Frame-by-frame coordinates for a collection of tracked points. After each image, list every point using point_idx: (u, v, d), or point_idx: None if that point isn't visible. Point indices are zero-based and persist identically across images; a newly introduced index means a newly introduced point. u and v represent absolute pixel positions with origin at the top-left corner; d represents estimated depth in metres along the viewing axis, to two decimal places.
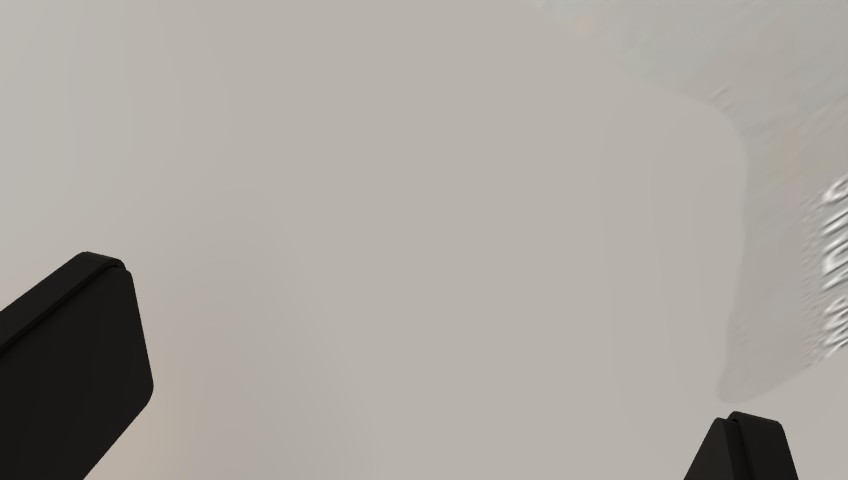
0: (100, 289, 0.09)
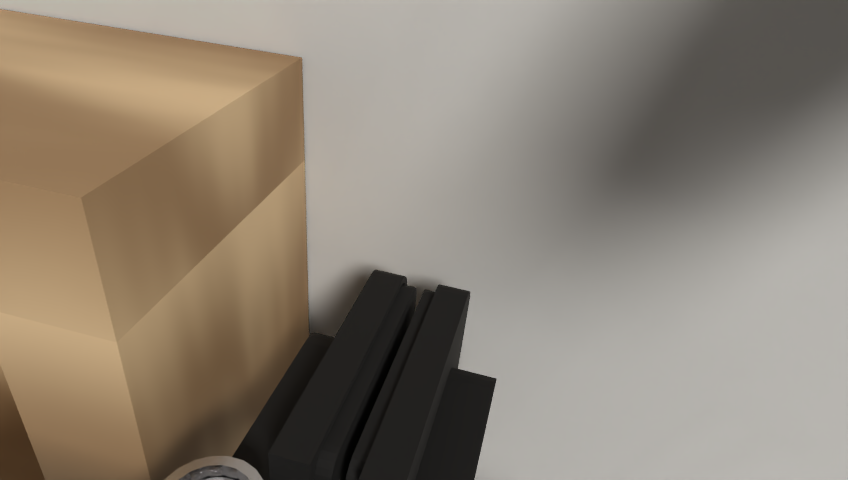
0: (404, 307, 0.10)
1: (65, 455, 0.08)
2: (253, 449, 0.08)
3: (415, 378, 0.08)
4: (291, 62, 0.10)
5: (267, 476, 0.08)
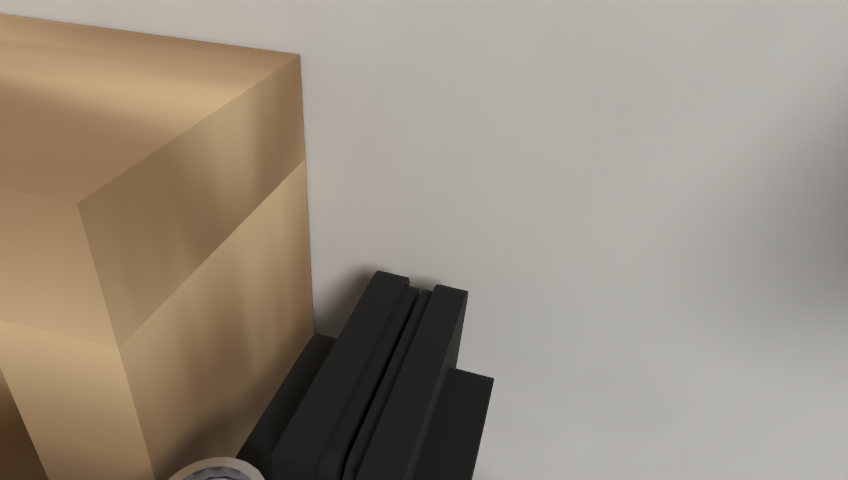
0: (406, 308, 0.10)
1: (71, 462, 0.08)
2: (256, 450, 0.08)
3: (412, 378, 0.08)
4: (290, 59, 0.10)
5: (270, 477, 0.08)
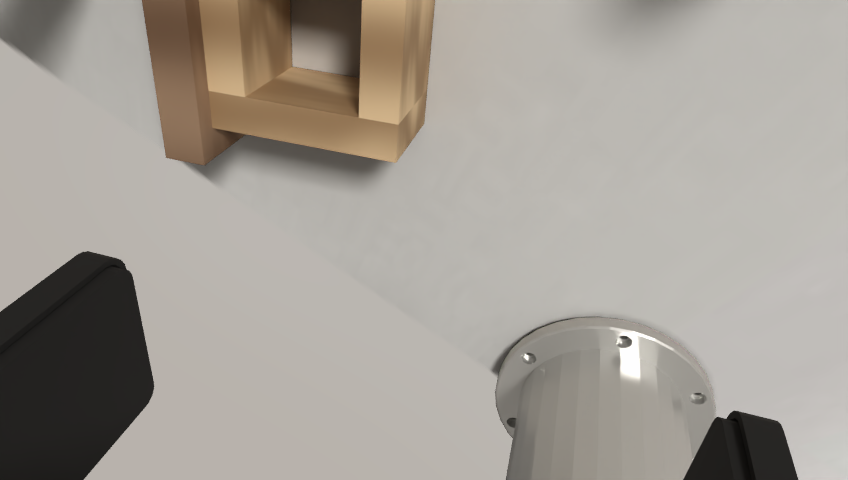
0: (101, 289, 0.09)
1: (372, 50, 0.25)
2: None
3: None
4: None
5: None
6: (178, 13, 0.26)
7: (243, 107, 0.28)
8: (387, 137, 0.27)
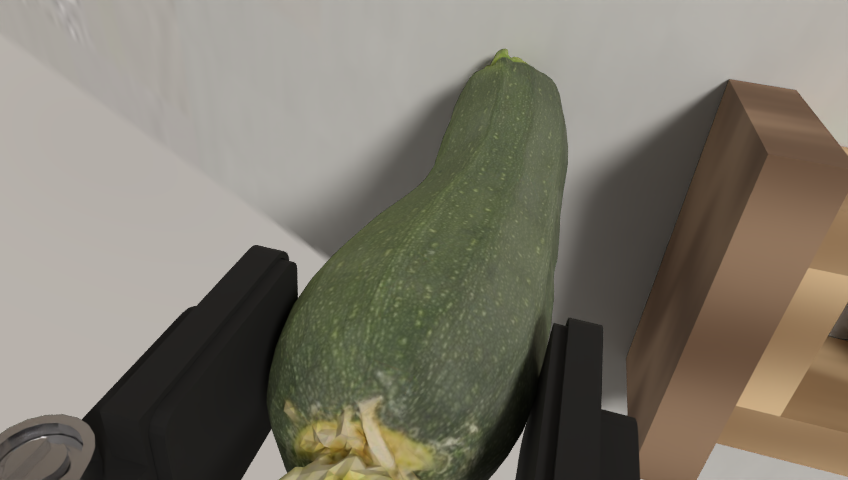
0: (277, 280, 0.10)
1: None
2: None
3: (575, 424, 0.08)
4: None
5: None
6: (757, 335, 0.17)
7: (770, 426, 0.20)
8: None
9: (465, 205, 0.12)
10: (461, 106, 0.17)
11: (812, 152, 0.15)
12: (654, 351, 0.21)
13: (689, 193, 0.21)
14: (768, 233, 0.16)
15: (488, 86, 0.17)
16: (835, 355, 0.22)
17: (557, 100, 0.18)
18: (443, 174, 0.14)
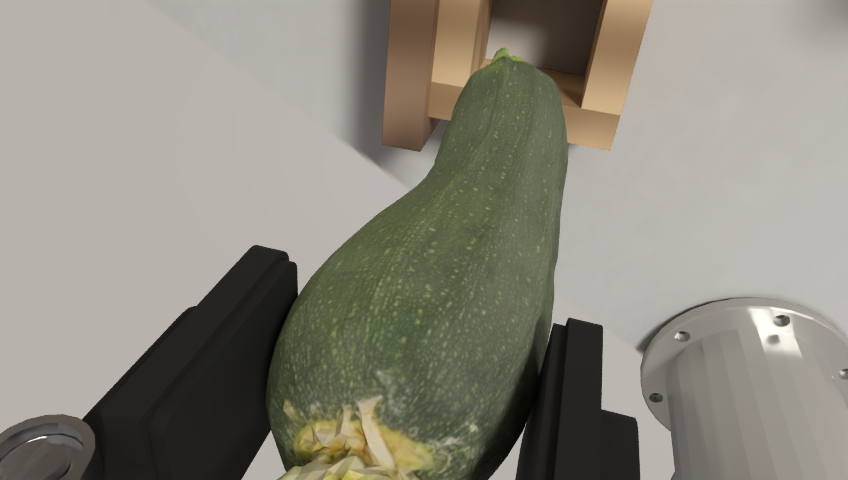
0: (277, 280, 0.10)
1: (609, 45, 0.27)
2: None
3: (575, 424, 0.08)
4: None
5: None
6: (426, 9, 0.27)
7: None
8: (606, 127, 0.29)
9: (466, 203, 0.12)
10: (461, 105, 0.17)
11: None
12: None
13: None
14: None
15: (488, 85, 0.17)
16: None
17: (557, 99, 0.18)
18: (443, 173, 0.14)
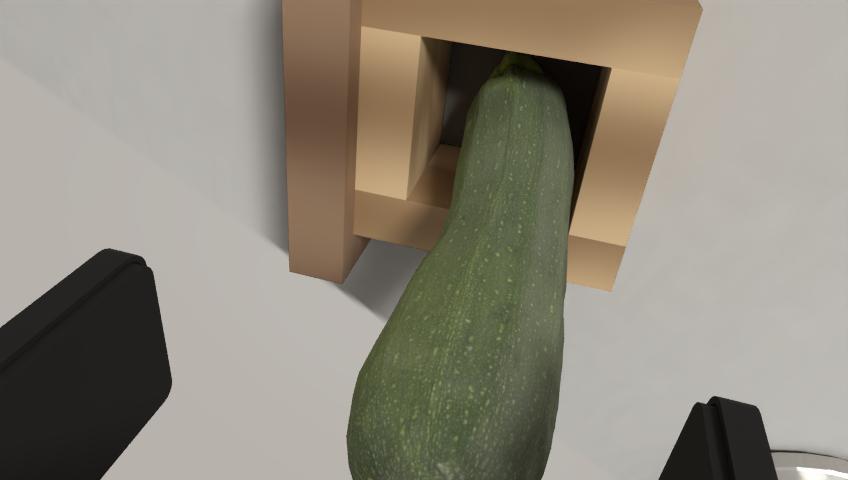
0: (123, 285, 0.09)
1: (609, 151, 0.18)
2: None
3: None
4: None
5: None
6: (335, 96, 0.18)
7: (402, 212, 0.21)
8: (605, 261, 0.20)
9: (490, 277, 0.14)
10: (476, 128, 0.19)
11: None
12: None
13: None
14: None
15: (500, 108, 0.19)
16: None
17: (564, 114, 0.19)
18: (467, 225, 0.16)
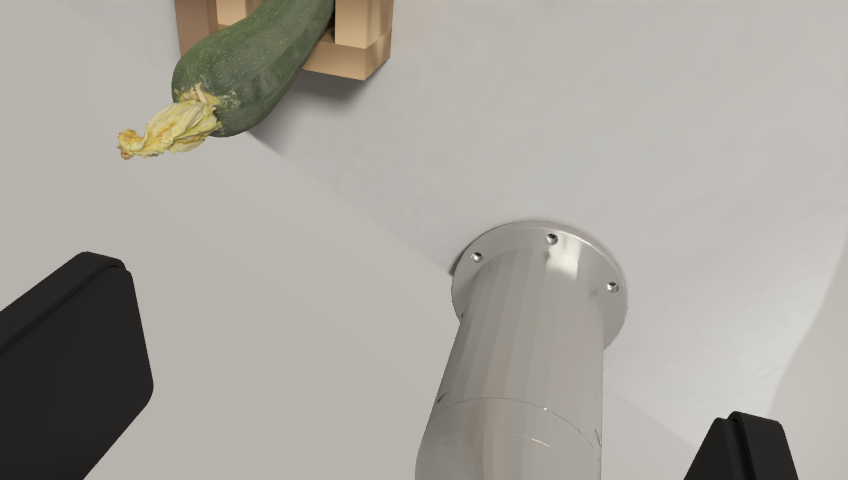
0: (100, 289, 0.09)
1: None
2: None
3: None
4: None
5: None
6: None
7: None
8: (357, 59, 0.35)
9: (249, 24, 0.29)
10: None
11: None
12: None
13: None
14: None
15: None
16: None
17: None
18: (252, 13, 0.31)
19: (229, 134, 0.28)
